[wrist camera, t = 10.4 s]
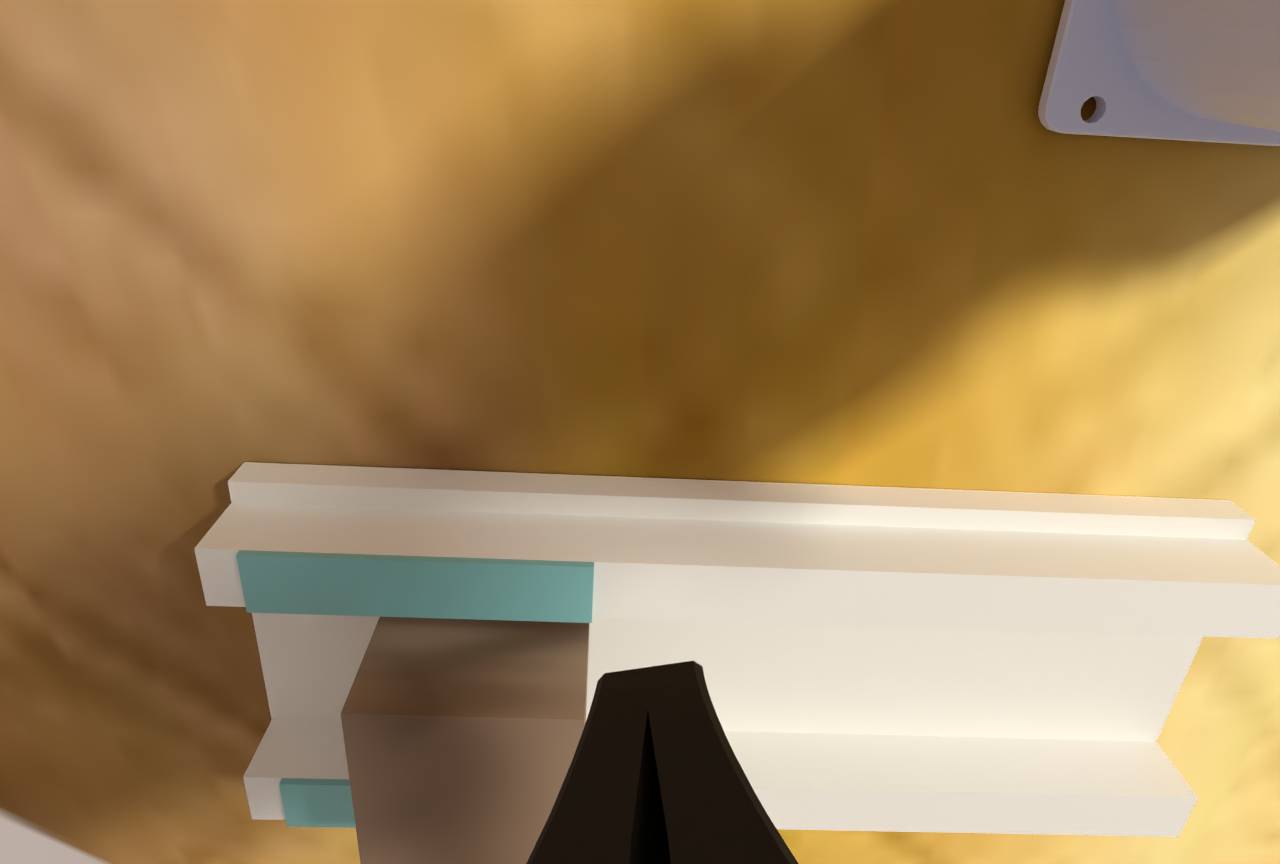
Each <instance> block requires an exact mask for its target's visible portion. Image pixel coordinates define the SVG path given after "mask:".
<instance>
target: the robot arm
mask: <svg viewBox="0 0 1280 864" xmlns="http://www.w3.org/2000/svg"><path fill="white" fill-rule="evenodd" d="M1090 97H1094V99H1095V101H1096V110H1095V112H1094V114H1093V115H1092V116H1091V117H1090V118H1089V119H1087V120H1085V121H1083V119H1082V118H1081V108H1082V106H1083V104H1084V102H1085V101H1086V100H1088V99H1089V98H1090ZM1038 116H1039V119H1040V122H1041V124H1042V125H1043V126H1044V127H1045V128H1046V129H1047V130H1051V131H1054V132H1058V133H1064V134H1080V135H1097V136H1114V137H1131V138H1148V139H1165V140H1182V141H1199V142H1216V143H1233V144H1249V145H1266V146H1280V0H1065V3H1064V7H1063V11H1062V15H1061V19H1060V23H1059V27H1058V31H1057V35H1056V39H1055V43H1054V47H1053V51H1052V55H1051V59H1050V63H1049V67H1048V71H1047V75H1046V79H1045V83H1044V87H1043V91H1042V95H1041V99H1040V103H1039V111H1038ZM526 864H798V862H797V861H796V859H795V858H794V856H793V855H792V853H791V851H790V850H789V848H788V847H787V845H786V844H785V842H784V840H783V839H782V837H781V835H780V834H779V832H778V831H777V829H776V827H775V826H774V824H773V823H772V821H771V819H770V818H769V816H768V814H767V813H766V811H765V809H764V807H763V806H762V804H761V802H760V800H759V799H758V797H757V795H756V794H755V792H754V790H753V788H752V786H751V784H750V782H749V780H748V779H747V777H746V775H745V773H744V771H743V769H742V767H741V765H740V763H739V762H738V760H737V758H736V756H735V754H734V752H733V750H732V748H731V746H730V744H729V741H728V739H727V737H726V735H725V733H724V730H723V728H722V726H721V723H720V721H719V719H718V716H717V714H716V711H715V709H714V706H713V704H712V701H711V698H710V695H709V692H708V689H707V685H706V682H705V678H704V672H703V666H701V665H700V664H698V663H696V662H695V661H687V662H680V663H673V664H666V665H659V666H652V667H645V668H638V669H631V670H624V671H617V672H610V673H604V674H603V675H602V677H601V678H600V679H599V680H598V681H597V685H596V690H595V694H594V697H593V701H592V704H591V707H590V711H589V714H588V717H587V720H586V723H585V726H584V729H583V732H582V735H581V738H580V740H579V743H578V746H577V749H576V751H575V754H574V757H573V760H572V762H571V764H570V767H569V769H568V772H567V774H566V777H565V779H564V782H563V784H562V786H561V789H560V791H559V794H558V796H557V799H556V801H555V803H554V806H553V808H552V810H551V813H550V815H549V817H548V819H547V822H546V824H545V826H544V828H543V830H542V832H541V834H540V836H539V838H538V840H537V842H536V844H535V847H534V849H533V851H532V853H531V855H530V857H529V859H528V861H527V863H526Z"/></svg>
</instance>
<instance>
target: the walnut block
mask: <svg viewBox="0 0 1280 864" xmlns="http://www.w3.org/2000/svg"><path fill="white" fill-rule="evenodd" d="M588 649H589V623H575V622H542V621H509V620H476V619H443V618H410V617H379V620H378V622H377V625H376V627H375V630H374V632H373V635H372V637H371V640H370V642H369V645H368V647H367V650H366V652H365V654H364V657H363V659H362V662H361V664H360V667H359V669H358V672H357V674H356V677H355V679H354V682H353V684H352V687H351V689H350V692H349V694H348V697H347V699H346V701H345V704H344V706H343V709H342V711H341V721H342V728H343V736H344V743H345V750H346V758H347V765H348V773H349V780H350V787H351V795H352V802H353V810H354V817H355V824H356V832H357V839H358V847H359V854H360V861H361V864H526V863H527V861H528V859H529V857H530V855H531V853H532V851H533V849H534V847H535V844H536V842H537V840H538V838H539V836H540V834H541V832H542V830H543V828H544V826H545V824H546V822H547V819H548V817H549V815H550V813H551V810H552V808H553V806H554V803H555V801H556V799H557V796H558V794H559V791H560V789H561V786H562V784H563V782H564V779H565V777H566V774H567V772H568V769H569V767H570V764H571V762H572V760H573V757H574V754H575V751H576V749H577V746H578V743H579V740H580V738H581V735H582V732H583V729H584V726H585V723H586V702H587V675H588Z"/></svg>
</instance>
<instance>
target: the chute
mask: <svg viewBox="0 0 1280 864" xmlns="http://www.w3.org/2000/svg"><path fill="white" fill-rule="evenodd" d="M228 487H229V492H230V498H231V504H230V505H229V506H228V508H227V509H226V510H225V511H224V512H223V514H222V515H221V516H220V517H219V519H218V520H217V521H216V522H215V524H214V525H213V526H212V527H211V528H210V530H209V531H208V532H207V533H206V535H205V536H204V537H203V538H202V540H201V541H200V542H199V543H198V544H197V546H196V547H195V548H194V550H195V555H196V559H197V564H198V569H199V573H200V578H201V583H202V587H203V592H204V597H205V601H206V606H230V607H246V612H247V613H252V617H253V622H254V627H255V633H256V638H257V644H258V649H259V654H260V660H261V665H262V671H263V676H264V682H265V687H266V692H267V698H268V703H269V709H270V714H271V719H272V720H271V722H270V724H269V726H268V728H267V730H266V732H265V734H264V736H263V738H262V740H261V742H260V744H259V746H258V748H257V750H256V752H255V754H254V756H253V758H252V760H251V762H250V764H249V766H248V768H247V770H246V772H245V774H244V776H243V779H244V784H245V789H246V793H247V798H248V803H249V807H250V812H251V817H252V819H266V820H286V824H287V826H296V827H350V828H356V824H355V817H354V810H353V802H352V795H351V787H350V780H349V773H348V765H347V758H346V750H345V743H344V736H343V728H342V721H341V711H342V709H343V706H344V704H345V701H346V699H347V697H348V694H349V692H350V689H351V687H352V684H353V682H354V679H355V677H356V674H357V672H358V669H359V667H360V664H361V662H362V659H363V657H364V654H365V652H366V650H367V647H368V645H369V642H370V640H371V637H372V635H373V632H374V630H375V627H376V625H377V622H378V620H379V617H410V618H443V619H476V620H509V621H542V622H575V623H589V649H588V675H587V702H586V720H587V717H588V714H589V711H590V707H591V704H592V701H593V697H594V694H595V690H596V685H597V681H598V680H599V679H600V678H601V677H602V675H603V674H604V673H610V672H617V671H624V670H631V669H638V668H645V667H652V666H659V665H666V664H673V663H680V662H687V661H695V662H696V663H698V664H700V665H701V666H703V672H704V678H705V682H706V685H707V689H708V692H709V695H710V698H711V701H712V704H713V706H714V709H715V711H716V714H717V716H718V719H719V721H720V723H721V726H722V728H723V730H724V733H725V735H726V737H727V739H728V741H729V744H730V746H731V748H732V750H733V752H734V754H735V756H736V758H737V760H738V762H739V763H740V765H741V767H742V769H743V771H744V773H745V775H746V777H747V779H748V780H749V782H750V784H751V786H752V788H753V790H754V792H755V794H756V795H757V797H758V799H759V800H760V802H761V804H762V806H763V807H764V809H765V811H766V813H767V814H768V816H769V818H770V819H771V821H772V823H773V824H774V826H775V827H776V829H793V830H845V831H898V832H951V833H1003V834H1056V835H1109V836H1162V837H1179V835H1180V833H1181V831H1182V829H1183V827H1184V825H1185V823H1186V821H1187V819H1188V817H1189V815H1190V813H1191V811H1192V809H1193V807H1194V805H1195V803H1196V801H1197V799H1198V797H1197V795H1196V794H1195V793H1194V791H1193V790H1192V789H1191V787H1190V786H1189V785H1188V783H1187V782H1186V781H1185V779H1184V778H1183V777H1182V775H1181V774H1180V773H1179V771H1178V770H1177V769H1176V767H1175V766H1174V765H1173V763H1172V762H1171V761H1170V759H1169V758H1168V757H1167V755H1166V754H1165V753H1164V751H1163V750H1162V749H1161V747H1160V746H1159V745H1158V743H1157V742H1156V741H1157V739H1158V736H1159V734H1160V732H1161V730H1162V728H1163V725H1164V723H1165V721H1166V719H1167V716H1168V714H1169V712H1170V710H1171V708H1172V705H1173V703H1174V701H1175V699H1176V696H1177V694H1178V692H1179V690H1180V688H1181V685H1182V683H1183V681H1184V679H1185V676H1186V674H1187V672H1188V670H1189V668H1190V665H1191V663H1192V661H1193V659H1194V656H1195V654H1196V652H1197V650H1198V648H1199V645H1200V643H1201V641H1202V639H1203V636H1210V637H1243V638H1276V639H1278V637H1279V635H1280V566H1279V565H1278V564H1276V563H1275V562H1274V561H1273V560H1272V559H1270V558H1269V557H1268V556H1267V555H1265V554H1264V553H1263V552H1262V551H1261V550H1259V549H1258V548H1257V547H1256V546H1254V545H1253V544H1252V543H1251V542H1249V541H1248V540H1247V539H1248V536H1249V534H1250V532H1251V530H1252V527H1253V525H1254V523H1255V521H1256V520H1255V519H1254V518H1253V517H1251V516H1250V515H1249V514H1247V513H1246V512H1245V511H1244V510H1242V509H1241V508H1240V507H1238V506H1237V505H1236V504H1235V503H1233V502H1232V501H1231V500H1214V499H1188V498H1162V497H1136V496H1110V495H1084V494H1058V493H1032V492H1007V491H981V490H955V489H929V488H903V487H877V486H851V485H825V484H799V483H773V482H747V481H721V480H695V479H669V478H643V477H617V476H591V475H565V474H539V473H513V472H487V471H461V470H436V469H410V468H384V467H358V466H332V465H306V464H280V463H254V462H244V463H243V464H242V465H241V466H240V468H239V469H238V470H237V471H236V472H235V473H234V475H233V476H232V477H231V478H230V479H229V480H228Z"/></svg>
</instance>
